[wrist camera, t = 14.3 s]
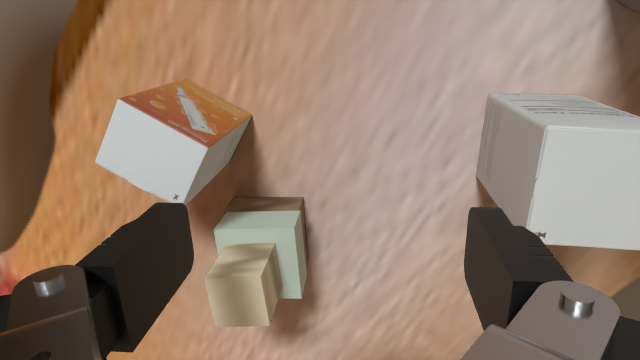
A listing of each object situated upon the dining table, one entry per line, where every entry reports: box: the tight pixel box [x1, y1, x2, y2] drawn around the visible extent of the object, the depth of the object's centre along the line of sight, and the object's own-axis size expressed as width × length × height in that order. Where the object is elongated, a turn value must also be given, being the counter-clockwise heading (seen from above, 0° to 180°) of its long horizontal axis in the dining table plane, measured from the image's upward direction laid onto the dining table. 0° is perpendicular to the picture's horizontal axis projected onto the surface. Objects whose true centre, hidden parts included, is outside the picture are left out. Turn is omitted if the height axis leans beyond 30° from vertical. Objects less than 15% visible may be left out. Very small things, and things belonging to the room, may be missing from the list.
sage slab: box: [213, 211, 307, 299], centre depth 45 cm, size 8×8×4 cm
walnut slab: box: [224, 197, 308, 264], centre depth 48 cm, size 8×8×4 cm
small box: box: [95, 79, 252, 205], centre depth 40 cm, size 8×6×13 cm
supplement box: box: [477, 93, 640, 250], centre depth 36 cm, size 9×9×15 cm
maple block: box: [204, 242, 283, 327], centre depth 40 cm, size 5×5×6 cm
